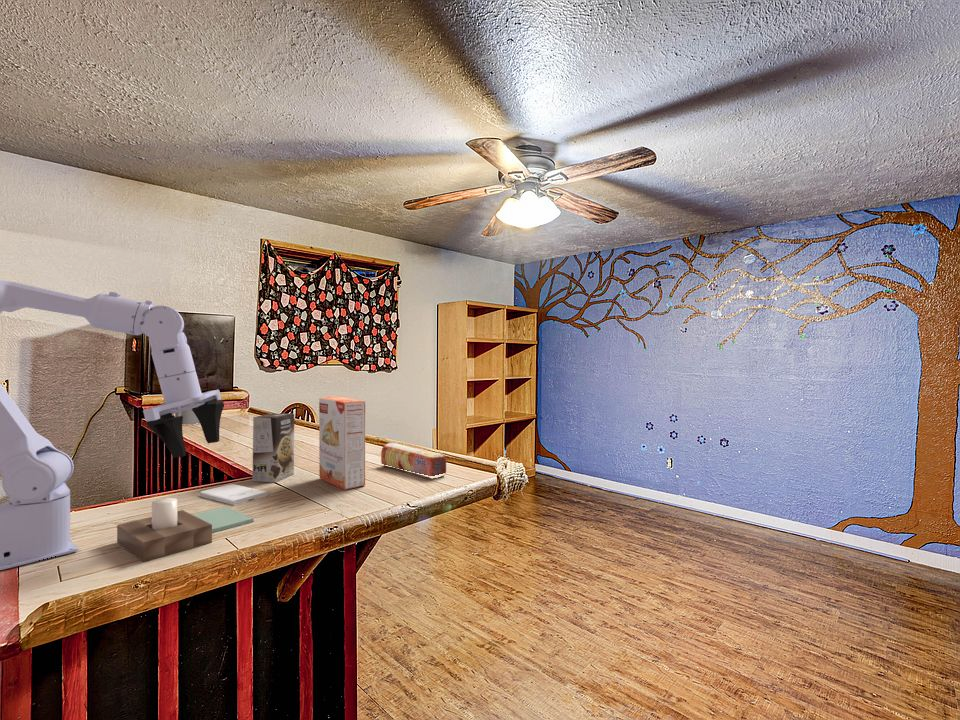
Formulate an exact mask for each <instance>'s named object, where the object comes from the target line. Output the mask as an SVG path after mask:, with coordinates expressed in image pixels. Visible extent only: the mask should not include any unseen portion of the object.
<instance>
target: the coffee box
mask: <svg viewBox="0 0 960 720" xmlns="http://www.w3.org/2000/svg"><path fill="white" fill-rule="evenodd" d="M252 421H253V422H252V423H253V426H252V479H251V481H252V482H259V483H260V482H261V483H273V484H275V483H277V482H279V481H281V480H283V479H287V478H288V477H290V476H293V475H294V474H295V413H268V414H264V415H263V414H262V415H258V416H253V418H252Z"/></svg>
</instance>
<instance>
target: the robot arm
mask: <svg viewBox="0 0 960 720" xmlns="http://www.w3.org/2000/svg"><path fill="white" fill-rule="evenodd" d="M154 305H155V303H154V301H153V300H148V299H146V300H145V301H139V300H134V299H130V298H126V297H125V298H124V297H121V293H119V292H116V291H115V292H114V291H109V293H103V292H102V293H99V294H96V295H94V296H92V297H89V298H85V297H82V296H77V295H73V294H68V293H63V292H60V291H59V292H58V291H54V290H51V289H46V288H42V287H38V286H33V285H28V284H24V283H21V282H16V281H9V280H3V279H0V315H1V314H2V313H3V312H6V313H7V312H8V313H12V312H16V311H19V310H21V309H25V308H29V309H35V310H39V311H46V312H51V313H59V314H65V315H69V316H70V315H71V316H77V317H82V318H84V319H85V320H86V321H87V322H88V323H89V324H90V326H91V327H92V328H96V329H102V330H107V331H112V332H117V333H124V334H128V335H134V336H140V335H142V334H144V335H145V336H147V337H148V341H149V345H150V350H151V352H150V353H151V356H152V357H151V358H152V361H153V364H154V368H155V372H156V375H157V378H158V384H159V385H160V390H161V393H162V396H163V401H164V403H162V404H158V405H156V406H155V405H154V406H153V407H149V408H146V409H143V410H142V412H143V416H144V420H145V421H146V425H147V427H148V429H150V430H151V431H153V432H154V433H155V434H156V435H157V436H158V437H159V439H160V440H161V441H162V442H163V443H164V445H165V446H166V448H167V449H168V451H169V452H170V454H171V456H172V457H173V459H177V458H184V457H185V456H187V449H186V445H185V440H184V435H183V433H184V432H183V425H182V422H183V416H178V417H175V413H178V412H181V411H184V410H187V409H190V408H192V411H193V412H194V414H195V415H196V417H197V418H198V420H199V422H200V424H199V425H200V426H201V429H202V434H203V435H204V438H205V441H206V442H207V444H212V443H218V442H220V425H221V417H222V412H223V409H224V407H225V402H224V400H222V396H221V392H220V389H215V390H213V389H212V390H208V391H205V392H202V389H201V387H200V382H199V377H198V375H197V372H196V371H197V370H196V367H195V363H194V359H193V356H192V352H191V351H192V350H191V348H190V345H189V344H188V338H187V336H186V334H185V332H184V331H183V330H184V329H185V328H184V327H185V322H184V319H183V317H182V315H181V314H180V313H179V312H178V311H177V310H175V309H173V308H171V307H170V306H167V305H155V306H154ZM192 403H196V404H193V405H190V406H186V407H183V408H181V407H180V406H183V405H187V404H192ZM197 406H198V407H197ZM194 407H195V408H194ZM179 408H180V409H179ZM175 409H177V410H175ZM172 414H174V416H172ZM74 468H75V465H74V461H73V458H71V457H70V456H69V455H68V454H67V453H66V452H63V451H61V450H60V449H57V448H56V447H55V446H54V445H53V443H52V442H51V441H50V440H49V439H47V438H46V437H44V436H42V435H41V434H39V433H38V432H37V431H36V430H35V428H34V427H33V426H32V425H31V423H30V422H29V420H28V419H27V418H26V416H25V415H24V413H23V412H22V410H21V409H20V408H19V406H18V405H17V404H16V402H15V401H14V400H13V399H12V397H11V396H10V394H9V393H8V391H7V390H6V389H5V387H4V386H3V384H1V382H0V476H1V483H2V489H3V492H4V493H5V495H6V496H7V497H8V501H7V502H3V503H0V571H2V570H6V569H11V568H16V567H19V566H23V565H28V564H32V563H35V562H40V561H43V559H44V560H48V559H51V557H52V558H56V557H59V556H63V555H67V554H71V553H75V552H78V551H79V550H80V548H79V547H78V546H77V545H76V544H75V543H74V542H73V541H71V489H70V488H69V487H68V486H67V483H66V482H68V480H69V479H70V478H71V476H72V475H73V472H74ZM55 556H56V557H55ZM47 558H48V559H47ZM39 560H40V561H39Z"/></svg>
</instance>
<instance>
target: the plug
mask: <svg viewBox="0 0 960 720" xmlns="http://www.w3.org/2000/svg"><path fill="white" fill-rule="evenodd" d="M177 511H178V499H177V498H175V497H167V498H160V499H156V500H154V501H152V502H151V517H152V529H153V530H154V531H158V530H162V529H166V528H170V527H174V526H177Z"/></svg>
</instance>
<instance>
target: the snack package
mask: <svg viewBox="0 0 960 720" xmlns="http://www.w3.org/2000/svg"><path fill="white" fill-rule="evenodd" d="M380 452H381V453H380V460H381V461H380V462H381V465H382V464H384V465H388V466H392V467H395V468H399V469H403V470H407V471H411V472H415V473H419V474H424V475H428V476H435V475H439V474H443V473H445V474H446V473H447V457H446V455H445V454H443V453H440V452H433V451H429V450H428V449H427V450H426V449H422V448H416V447H412V446H408V445H404V444H400V443H397V442H388V443H386V444H385V445H383V447H382V449H381V451H380Z"/></svg>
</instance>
